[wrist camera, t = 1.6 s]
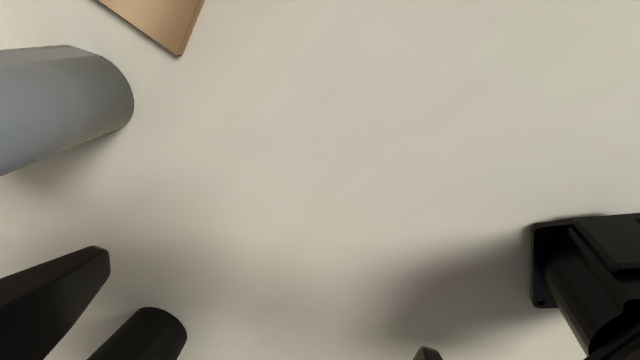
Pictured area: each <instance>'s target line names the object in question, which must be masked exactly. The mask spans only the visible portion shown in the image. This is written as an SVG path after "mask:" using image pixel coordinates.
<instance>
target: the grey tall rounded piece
mask: <svg viewBox="0 0 640 360" xmlns="http://www.w3.org/2000/svg"><path fill="white" fill-rule="evenodd" d="M133 110H134V99H133V94H132V91H131V88H130V86H129V84H128V82H127V80H126V78H125V77H124V75H123V74H122V73H121V71H120V70H119V69H118V68H117V67H116V66H115V65H114V64H113V63H112V62H110V61H109V60H107V59H106V58H104V57H102V56H99V55H97V54H94V53H91V52H88V51H85V50H82V49H79V48H76V47H73V46H69V45H58V46H45V47H32V48H19V49H6V50H0V176H2V175H5V174H7V173H10V172H12V171H15V170H17V169H20V168H22V167H25V166H27V165H30V164H32V163H34V162H37V161H39V160H42V159H44V158H47V157H49V156H52V155H54V154H57V153H59V152H62V151H64V150H67V149H69V148H72V147H74V146H77V145H79V144H82V143H84V142H87V141H89V140H92V139H94V138H97V137H99V136H102V135H104V134H107V133H109V132H112V131H114V130H117V129H119V128H121V127H123V126H125V125H126V124H127V123H128V122H129V121H130V119H131V117H132V114H133Z"/></svg>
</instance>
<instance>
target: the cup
mask: <svg viewBox="0 0 640 360" xmlns="http://www.w3.org/2000/svg"><path fill="white" fill-rule="evenodd" d="M186 340H187V333H186V330H185V328H184V326H183V325H182V324H181V322H180V321H179V320H178V319H177V318H175V317H174V316H173V315H171V314H170V313H168V312H166V311H164V310H161V309H158V308H153V307H145V308H141V309H139V310H138V311H137V312H136V313H135V314H134V315H132V316H131V317H130V318H129V319H128V320H127V321H126V322H125V323H124V324H123V325H122V326H121V327H120V328H119V329H118V330H117V331H116V332H115V333H114V334H113V335H112V336H111V337H110V338H109V339H108V340H107V341H106V342H105V343H104V344H103V345H102V346H101V347H100V348H98V349H97V350H96V351H95V352H94V353H93V354H92V355H91V356H90V357H89V358H88V359H87V360H177V358H178V356H179V354H180V352H181V350H182V348H183V347H184V345H185V343H186Z"/></svg>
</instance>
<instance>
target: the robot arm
mask: <svg viewBox="0 0 640 360" xmlns="http://www.w3.org/2000/svg"><path fill="white" fill-rule="evenodd" d="M542 230H545V231H544V232H543V233H539V232H540V231H542ZM110 271H111V269H110V259H109V252H108V251H107V250H106V249H104V248H101V247H97V246H89V247H86V248H84V249H81V250H78V251H75V252H73V253H70V254H67V255H64V256H62V257H59V258H56V259H53V260H50V261H48V262H45V263H42V264H39V265H37V266H34V267H31V268H28V269H26V270H23V271H20V272H17V273H15V274H12V275H9V276H6V277H3V278H1V279H0V360H43V359H44V358H45V357H46V356H47V355H48V354H49V353H50V351H51V350H52V349H53V348H54V347H55V346H56V345H57V344H58V342H59V341H60V340H61V339H62V338H63V337H64V336H65V334H66V333H67V332H68V331H69V330H70V329H71V327H72V326H73V325H74V324H75V322H76V321H77V320H78V318H79V317H80V316H81V314H82V313H83V312H84V310H85V309H86V308H87V306H88V305H89V303H90V302H91V301H92V299H93V298H94V297H95V295H96V294H97V293H98V291H99V290H100V289H101V287H102V286H103V284H104V283H105V282H106V280H107V279H108V277H109V275H110ZM530 299H531V301H532V303H533V305H534V306H535V307H537V308H559V310H560V312H561V313H562V315H563V317H564V318H565V320H566V322H567V323H568V325H569V327H570V329H571V330H572V332H573V334H574V335H575V337H576V339H577V341H578V342H579V344H580V346H581V347H582V349H583V351H584V352H585V354H586V356H587V357H586V358H585V359H584V360H640V214H632V215H627V214H623V215H612V216H602V217H591V218H580V219H576V220H567V221H557V222H546V223H538V224H536V225H534V226H533V227H532V229H531V292H530ZM539 300H541V301H539ZM413 360H443V359H442V357H441V356H440V354H439V352H438V351H437V350H435V349H432V348H428V347H425V346H422V347H420V349H419V350H418V352H417V354H416V355H415V357H414V359H413Z"/></svg>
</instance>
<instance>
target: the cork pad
mask: <svg viewBox="0 0 640 360" xmlns="http://www.w3.org/2000/svg"><path fill="white" fill-rule="evenodd" d="M99 1H100V2H101V3H103V4H104V5H106V6H107V7H109V8H110V9H111V10H113V11H114V12H116V13H117V14H118V15H120V16H121V17H123V18H124V19H126V20H127V21H128V22H130V23H131V24H133V25H134V26H135V27H137V28H138V29H140V30H141V31H143V32H144V33H145V34H147V35H148V36H150V37H151V38H152V39H154V40H155V41H157V42H158V43H160V44H161V45H162V46H164V47H165V48H167V49H168V50H169V51H171V52H172V53H174V54H175V55H182V54H183V52H184V49H185V47H186V44H187V42H188V39H189V37H190V34H191V32H192V29H193V27H194V25H195V22H196V20H197V17H198V15H199V12H200V10H201V7H202V5H203V2H204V0H99Z"/></svg>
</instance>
